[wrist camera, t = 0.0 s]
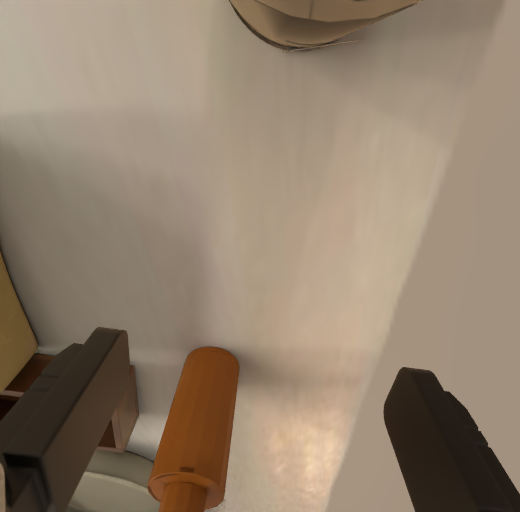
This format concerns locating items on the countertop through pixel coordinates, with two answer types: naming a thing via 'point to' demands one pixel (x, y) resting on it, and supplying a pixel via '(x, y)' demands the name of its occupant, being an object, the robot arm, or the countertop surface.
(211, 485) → the bottle
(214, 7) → the countertop surface
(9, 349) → the cheese
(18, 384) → the holder
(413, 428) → the robot arm
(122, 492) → the cake pan
